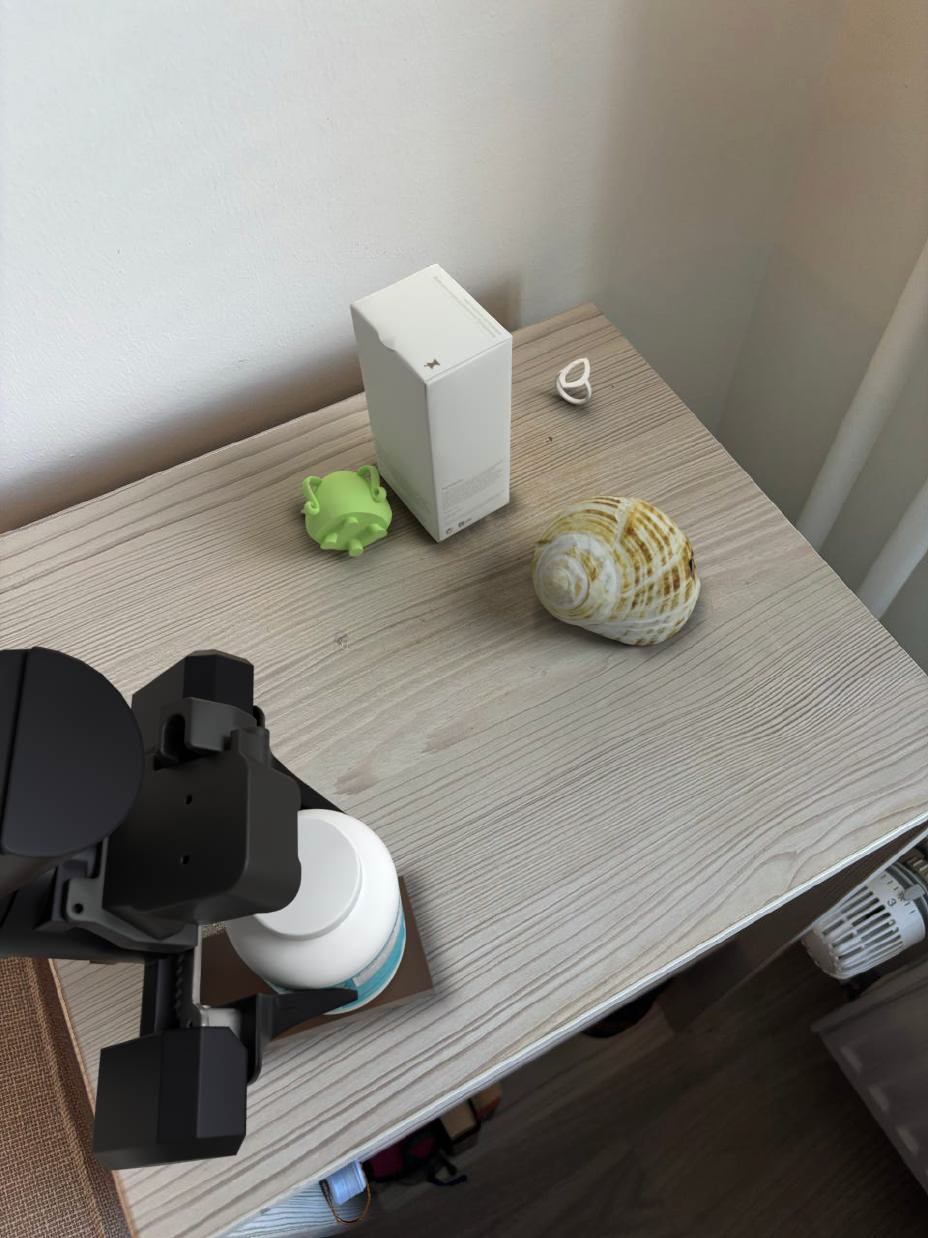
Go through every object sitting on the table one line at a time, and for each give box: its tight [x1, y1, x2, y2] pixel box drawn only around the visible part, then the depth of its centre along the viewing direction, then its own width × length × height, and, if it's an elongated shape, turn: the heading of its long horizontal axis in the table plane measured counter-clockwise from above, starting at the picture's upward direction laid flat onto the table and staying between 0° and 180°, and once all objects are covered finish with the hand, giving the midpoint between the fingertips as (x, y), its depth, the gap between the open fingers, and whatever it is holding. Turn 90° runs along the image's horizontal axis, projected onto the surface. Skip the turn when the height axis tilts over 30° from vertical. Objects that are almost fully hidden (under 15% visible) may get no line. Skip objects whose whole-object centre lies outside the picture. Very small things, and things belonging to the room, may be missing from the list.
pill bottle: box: [224, 809, 405, 1014], centre depth 42 cm, size 8×7×14 cm
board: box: [200, 874, 437, 1053], centre depth 49 cm, size 12×6×2 cm, turn 108°
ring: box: [553, 357, 592, 406], centre depth 69 cm, size 2×3×3 cm
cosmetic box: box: [349, 263, 514, 543], centre depth 59 cm, size 8×7×16 cm
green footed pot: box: [300, 464, 393, 557], centre depth 62 cm, size 6×5×6 cm
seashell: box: [531, 495, 701, 646], centre depth 59 cm, size 10×10×10 cm
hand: (349, 907), depth 41 cm, fingers closed on pill bottle, 7 cm apart
